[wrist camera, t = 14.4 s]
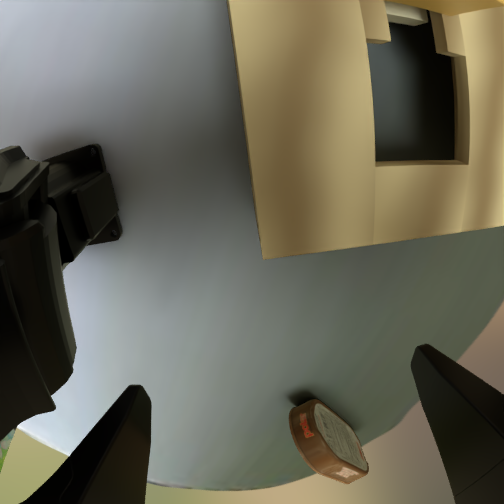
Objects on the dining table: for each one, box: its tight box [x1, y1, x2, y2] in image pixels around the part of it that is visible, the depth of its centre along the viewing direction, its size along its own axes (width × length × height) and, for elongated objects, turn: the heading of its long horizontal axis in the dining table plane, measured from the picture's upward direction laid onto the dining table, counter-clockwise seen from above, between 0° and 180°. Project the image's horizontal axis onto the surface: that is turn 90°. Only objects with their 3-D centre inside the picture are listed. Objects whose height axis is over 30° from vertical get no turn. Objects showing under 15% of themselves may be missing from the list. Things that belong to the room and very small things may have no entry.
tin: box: [289, 399, 369, 484], centre depth 27 cm, size 15×3×8 cm, turn 36°
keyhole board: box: [227, 0, 504, 260], centre depth 11 cm, size 16×22×6 cm
